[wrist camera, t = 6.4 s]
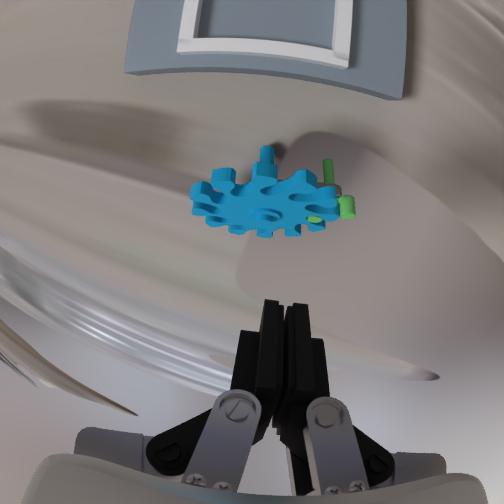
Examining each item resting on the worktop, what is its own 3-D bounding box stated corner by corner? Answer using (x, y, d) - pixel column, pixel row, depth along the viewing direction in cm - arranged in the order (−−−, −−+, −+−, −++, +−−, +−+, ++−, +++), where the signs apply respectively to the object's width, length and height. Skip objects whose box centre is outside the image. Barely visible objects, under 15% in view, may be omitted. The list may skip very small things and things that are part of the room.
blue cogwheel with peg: (204, 241, 23) (166, 185, 13) (212, 180, 25) (186, 104, 15) (336, 248, 23) (381, 196, 13) (333, 185, 24) (365, 112, 14)
